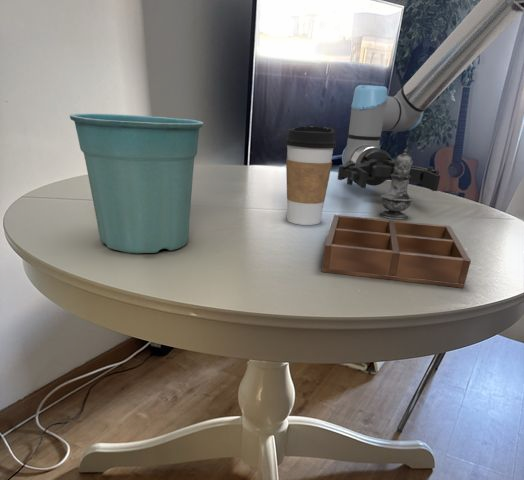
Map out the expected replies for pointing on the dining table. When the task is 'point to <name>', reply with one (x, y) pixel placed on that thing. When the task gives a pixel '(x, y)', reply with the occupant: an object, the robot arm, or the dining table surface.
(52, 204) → the dining table surface
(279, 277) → the dining table surface
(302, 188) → the coffee cup
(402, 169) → the salt shaker
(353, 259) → the tray
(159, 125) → the flower pot
